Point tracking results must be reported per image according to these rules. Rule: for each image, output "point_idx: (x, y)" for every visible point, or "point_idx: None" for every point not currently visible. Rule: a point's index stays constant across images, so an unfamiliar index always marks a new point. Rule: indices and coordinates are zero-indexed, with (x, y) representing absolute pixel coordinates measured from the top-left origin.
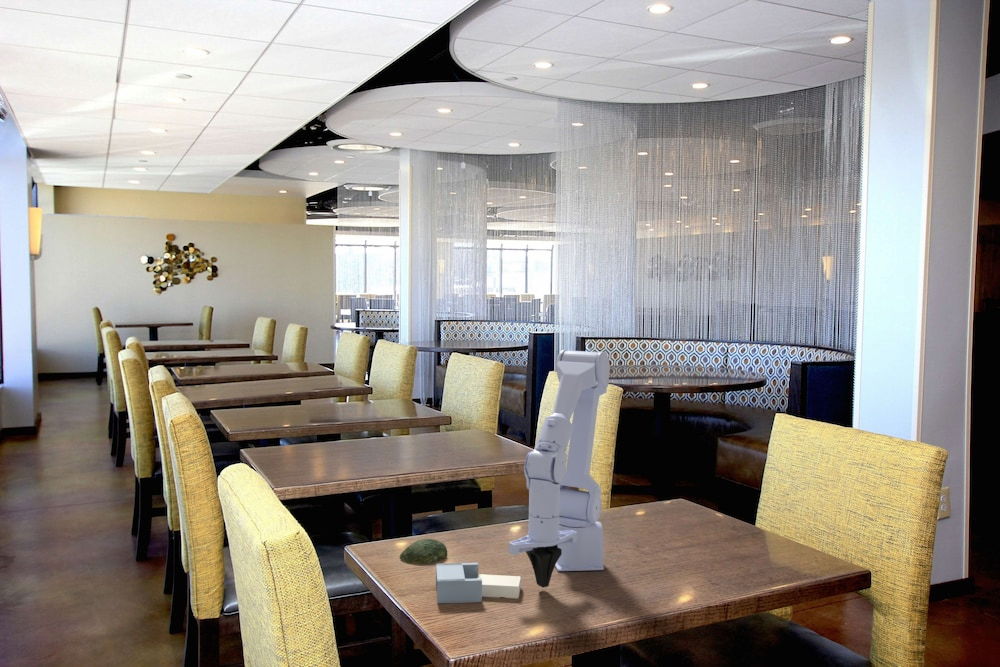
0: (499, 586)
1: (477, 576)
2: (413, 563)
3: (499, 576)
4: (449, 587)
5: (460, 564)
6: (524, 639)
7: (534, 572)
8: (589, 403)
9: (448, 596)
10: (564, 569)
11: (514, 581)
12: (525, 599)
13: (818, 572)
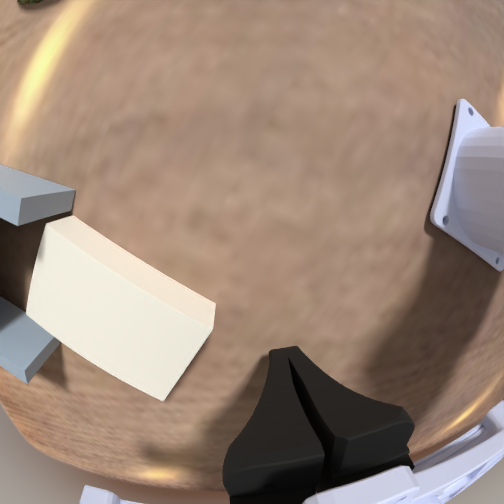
0: (98, 363)
1: (49, 215)
2: (22, 3)
3: (115, 289)
4: None
5: None
6: (130, 478)
7: (267, 375)
8: None
9: None
10: (445, 230)
11: (162, 363)
12: (189, 385)
13: None
